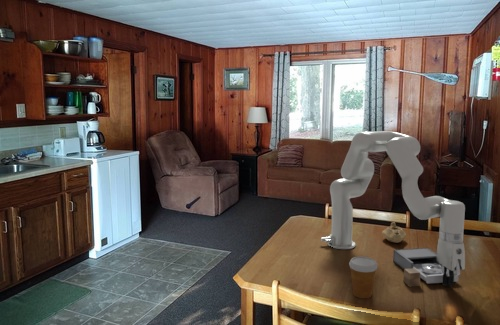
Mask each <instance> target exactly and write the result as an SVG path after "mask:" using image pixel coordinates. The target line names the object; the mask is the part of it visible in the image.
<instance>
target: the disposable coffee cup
mask: <svg viewBox="0 0 500 325" xmlns="http://www.w3.org/2000/svg"><path fill="white" fill-rule="evenodd" d="M348 265H349V268H350V277H351V286H352V294H353V296H354V297H357V298H360V299H369V298H371V297H372V294H373V290H374V285H375V278H376V274H377V270H378V263H377V261H376V260H375V259H374V258H371V257H367V256H354V257H352V258H351V259H350V261H349V263H348Z"/></svg>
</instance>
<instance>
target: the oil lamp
mask: <svg viewBox="0 0 500 325" xmlns="http://www.w3.org/2000/svg"><path fill="white" fill-rule="evenodd" d="M381 235H382V236H383V237H384V238H385V239H386V240H387V241H388V242H391V243H396V244H397V243H398V244H399V243H400V242H402V241H403V240H404V239H406V238H407V233H406V231H405V230H403V228H402V227H400V226H397V225H396V222H395V221H392V222H391V223H390V226H388V227H386V228H384V230H383V229H382V232H381Z"/></svg>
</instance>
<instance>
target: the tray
mask: <svg viewBox="0 0 500 325" xmlns="http://www.w3.org/2000/svg"><path fill="white" fill-rule="evenodd" d="M426 264H434V265H437V266H439V267H441V265H439V264H438V263H426ZM422 265H423V264H414V266H413V268H415V269H416V270H417V271H419V272H420V279H422V280H423V281H424V282H425V283H426V284H441V283H443V273H442V267H441V274H435V275H427V274H425V273H423V272H422V271H421V266H422ZM459 277H460V275H455V276H454V283H455V282H459Z"/></svg>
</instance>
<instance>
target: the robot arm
mask: <svg viewBox="0 0 500 325" xmlns="http://www.w3.org/2000/svg"><path fill="white" fill-rule="evenodd" d="M381 152H386V154H387V156H388V157H389V159H390V160H391V162H392V164H393V165H394V167H395V169H396V170H397V173H398V174H399V176H400V178H401V190H402V191H401V194H402V198H403V200H404V202H405V204H406V205H407V207H408V209H409V211H410V213H411V214H412V216H414V217H416V218H417V219H419V220H420V221H421V220H422V221H423V220H424V221H426V220H430V219H434V218H439V217H440V218H439V231H438V232H439V234H438V241H437V249H436V254H437V261H438V262H439V264H440V265H441V267H442V273H443V282H442V285H443V286H444V287H453V286H454V283H455V282H454V276H455V275H459V276H460V275H461V271H464V270H465V266H466V252H465V250H466V249H465V243H464V242H463V241H464V230H465V229H464V227H465V212H466V205H465V204H464V202H461V201H459V200H453V199H448V198H445V197H443V196H440V195H433V196H427V197H424V196H423V194H422V192H421V191H420V189H419V185H418V181H419V177H420V176H421V175H422V174H423V173H424V167H423V165H422V164H421V162H420V160H419V159H418V157H417V156H418V155H419V153H420V152H421V143H420V142H419V140H418V139H417V138H415V136H411V135H407V134H403V133H400V132H395V131H391V130H390V131H389V130H380V131H360V132H358V133H355V135H354V136H353V137H352V139H351V143H350V146H349V149H348V152H347V153H346V156H345V158H344V161H343V164H342V165H341V167H340V175H341V177H342V178H339V179H335V180H333V181H332V182H331V183H330V186H329V193H330V201H331V229H330V230H331V233H330V234H329V236H323V237H320V241H321V242H325V243H327V245H328V246H329V247H330V246H331V248H332V247H333V249H336V250H337V249H338V250H352V249H353V248H355V247H356V242H355V241H353V224H354V223H353V222H354V221H353V212H354V211H353V210H354V208H353V204H352V202H351V199H353V198H358V197H361V196H363V195H364V194H365V193H366V191H367V188H368V186H369V185H370V183H371V180H372V178H373V176H374V173H375V164H374V162H373V161H372V159H370V158H369V157H368V156H369V153H381Z"/></svg>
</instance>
